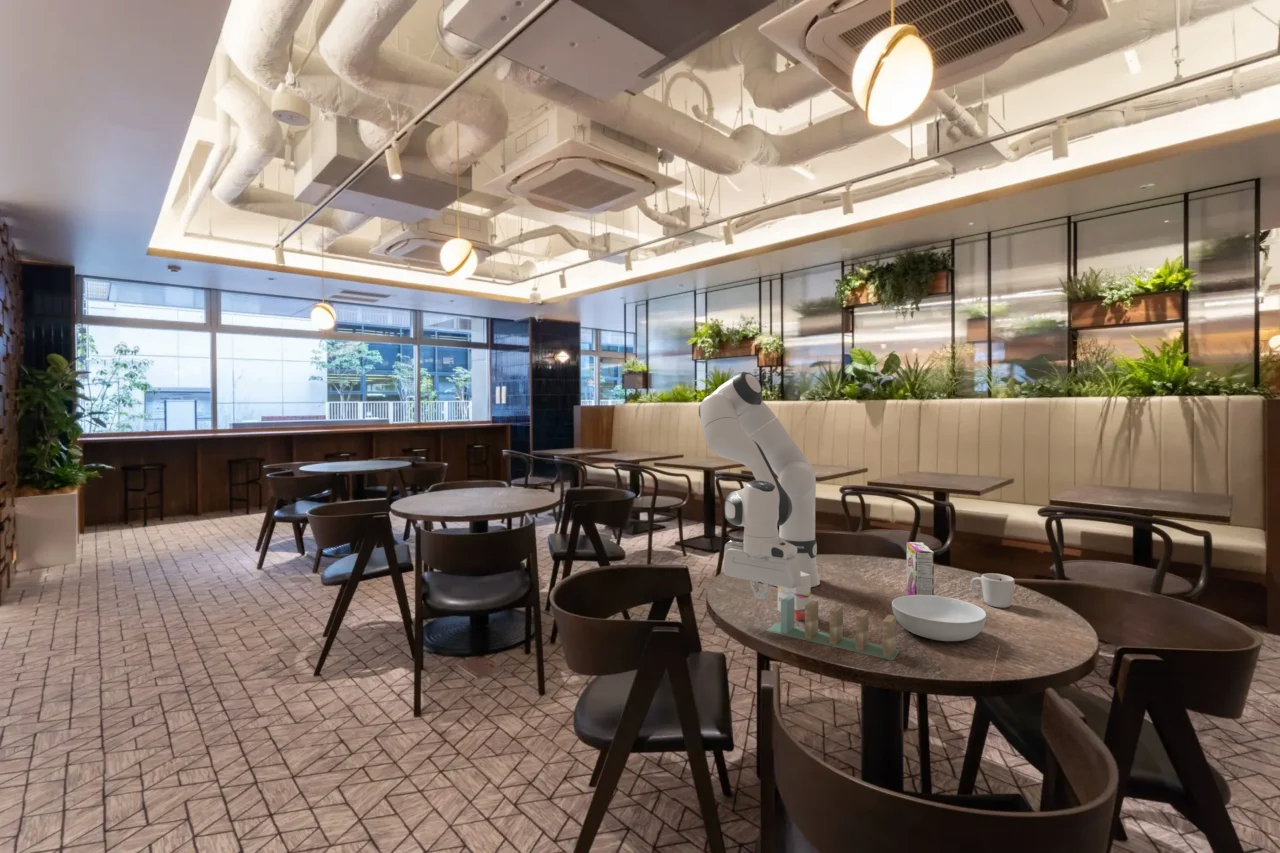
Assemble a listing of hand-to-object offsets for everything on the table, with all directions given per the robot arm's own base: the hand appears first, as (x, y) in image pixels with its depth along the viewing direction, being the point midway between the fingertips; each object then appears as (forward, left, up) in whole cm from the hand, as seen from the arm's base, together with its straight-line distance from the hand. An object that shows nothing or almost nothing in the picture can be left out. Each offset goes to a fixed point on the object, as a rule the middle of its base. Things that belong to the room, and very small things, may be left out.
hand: (760, 598), depth 153 cm
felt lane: (+18, 0, -7) cm, 19 cm away
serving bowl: (+38, +19, -7) cm, 44 cm away
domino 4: (+25, 0, -7) cm, 26 cm away
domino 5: (+31, 0, -7) cm, 32 cm away
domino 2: (+13, 0, -7) cm, 15 cm away
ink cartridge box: (+4, +12, -7) cm, 15 cm away
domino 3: (+19, 0, -7) cm, 21 cm away
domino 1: (+7, 0, -7) cm, 10 cm away
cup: (+47, +52, -7) cm, 71 cm away
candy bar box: (+30, +41, -7) cm, 52 cm away
